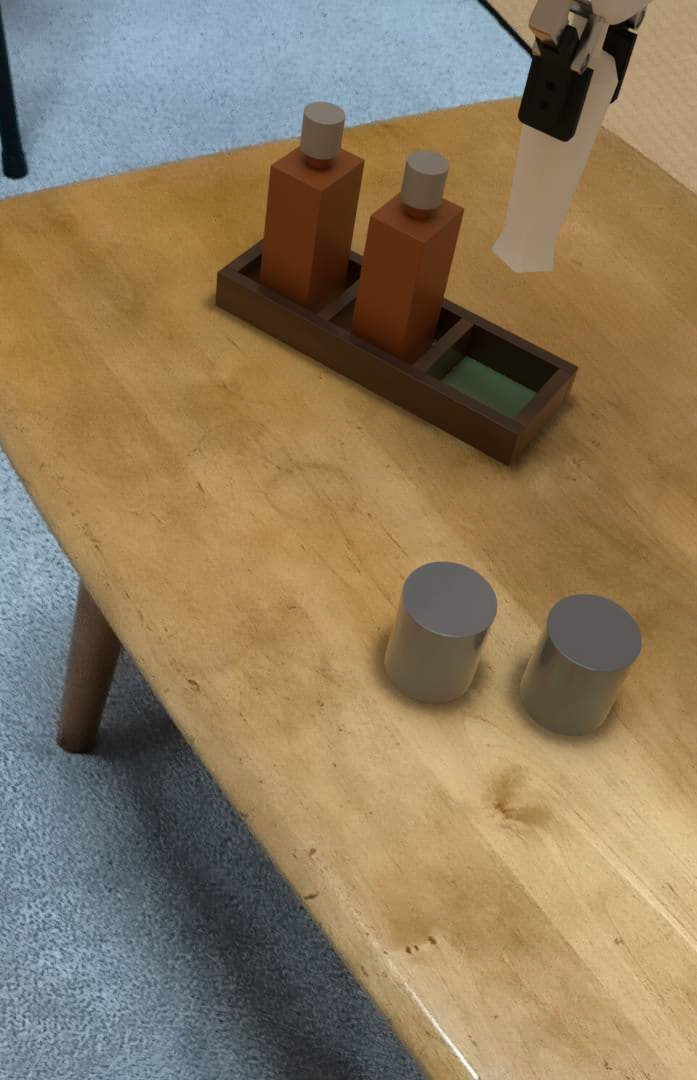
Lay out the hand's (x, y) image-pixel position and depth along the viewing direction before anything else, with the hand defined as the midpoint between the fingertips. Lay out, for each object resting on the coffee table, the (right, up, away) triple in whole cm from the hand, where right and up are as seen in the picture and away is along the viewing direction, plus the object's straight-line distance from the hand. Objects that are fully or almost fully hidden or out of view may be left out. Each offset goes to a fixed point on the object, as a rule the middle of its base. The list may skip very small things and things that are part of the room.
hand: (568, 108), depth 67 cm
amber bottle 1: (-15, -7, +21) cm, 27 cm away
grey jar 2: (0, -33, +2) cm, 33 cm away
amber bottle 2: (-9, -10, +18) cm, 23 cm away
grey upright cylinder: (-8, -31, +2) cm, 32 cm away
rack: (-9, -11, +19) cm, 24 cm away
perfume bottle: (-1, -6, +7) cm, 10 cm away
